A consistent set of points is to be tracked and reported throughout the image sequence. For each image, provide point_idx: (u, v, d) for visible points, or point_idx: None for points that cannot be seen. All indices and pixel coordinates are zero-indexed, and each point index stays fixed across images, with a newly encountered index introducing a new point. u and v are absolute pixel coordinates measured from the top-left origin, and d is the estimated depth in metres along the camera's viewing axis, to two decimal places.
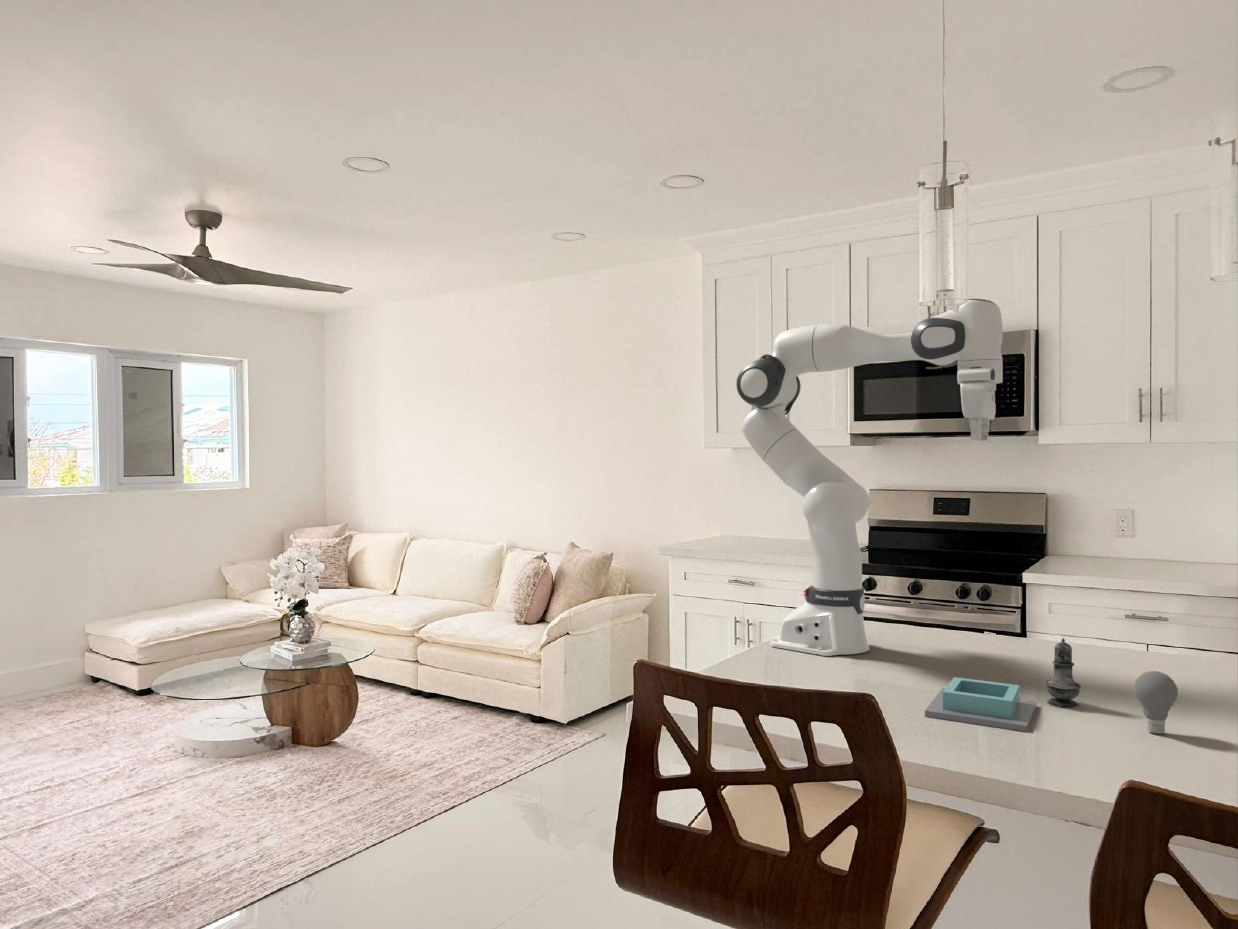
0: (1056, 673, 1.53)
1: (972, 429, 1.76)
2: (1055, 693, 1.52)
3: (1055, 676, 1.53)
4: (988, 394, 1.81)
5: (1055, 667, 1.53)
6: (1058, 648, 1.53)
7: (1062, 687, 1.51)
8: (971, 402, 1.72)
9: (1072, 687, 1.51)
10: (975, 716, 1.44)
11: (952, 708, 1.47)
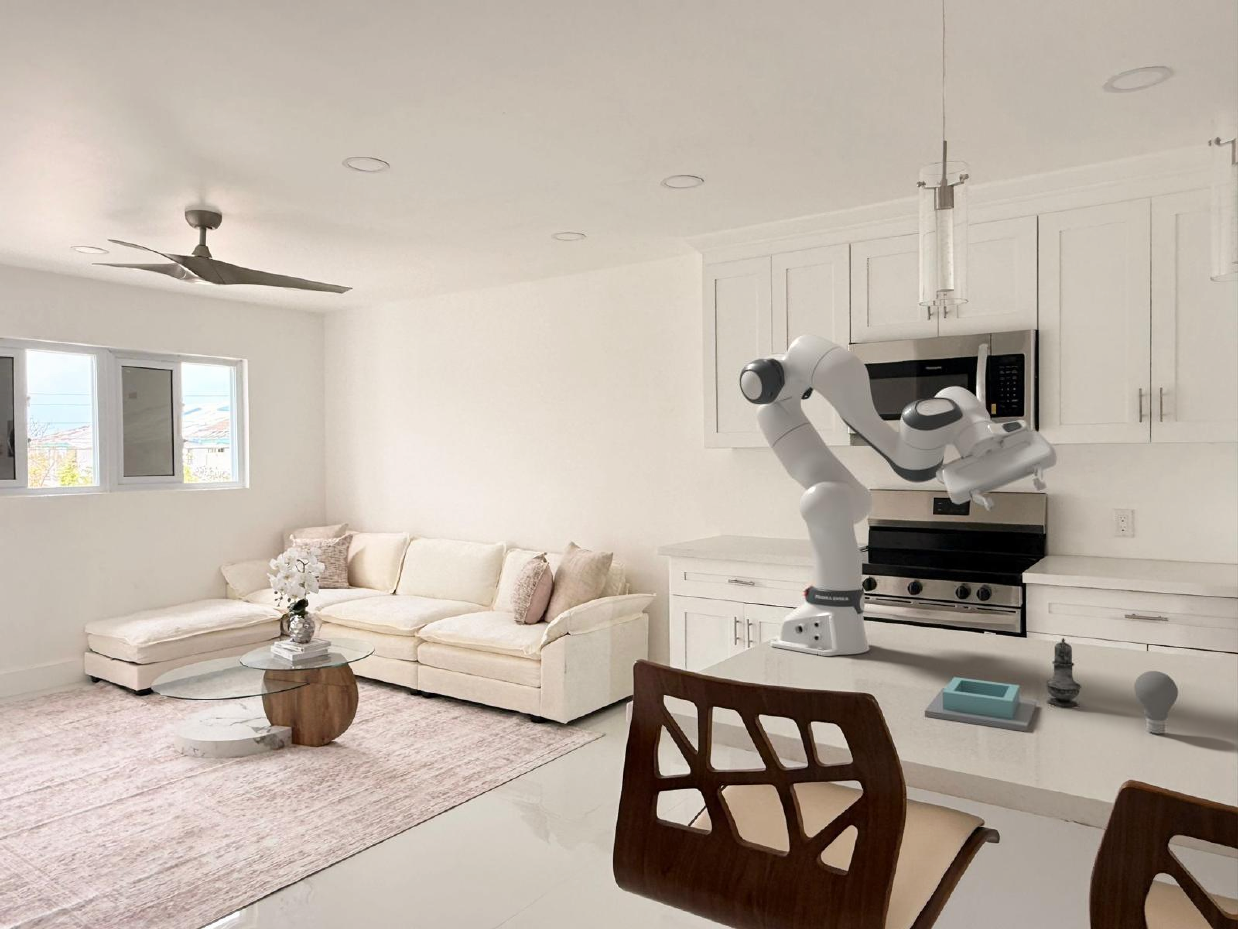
0: (1056, 673, 1.53)
1: (1041, 474, 1.56)
2: (1055, 693, 1.52)
3: (1056, 676, 1.53)
4: None
5: (1055, 667, 1.53)
6: (1058, 648, 1.53)
7: (1062, 687, 1.51)
8: None
9: (1072, 687, 1.51)
10: (975, 716, 1.44)
11: (952, 708, 1.47)
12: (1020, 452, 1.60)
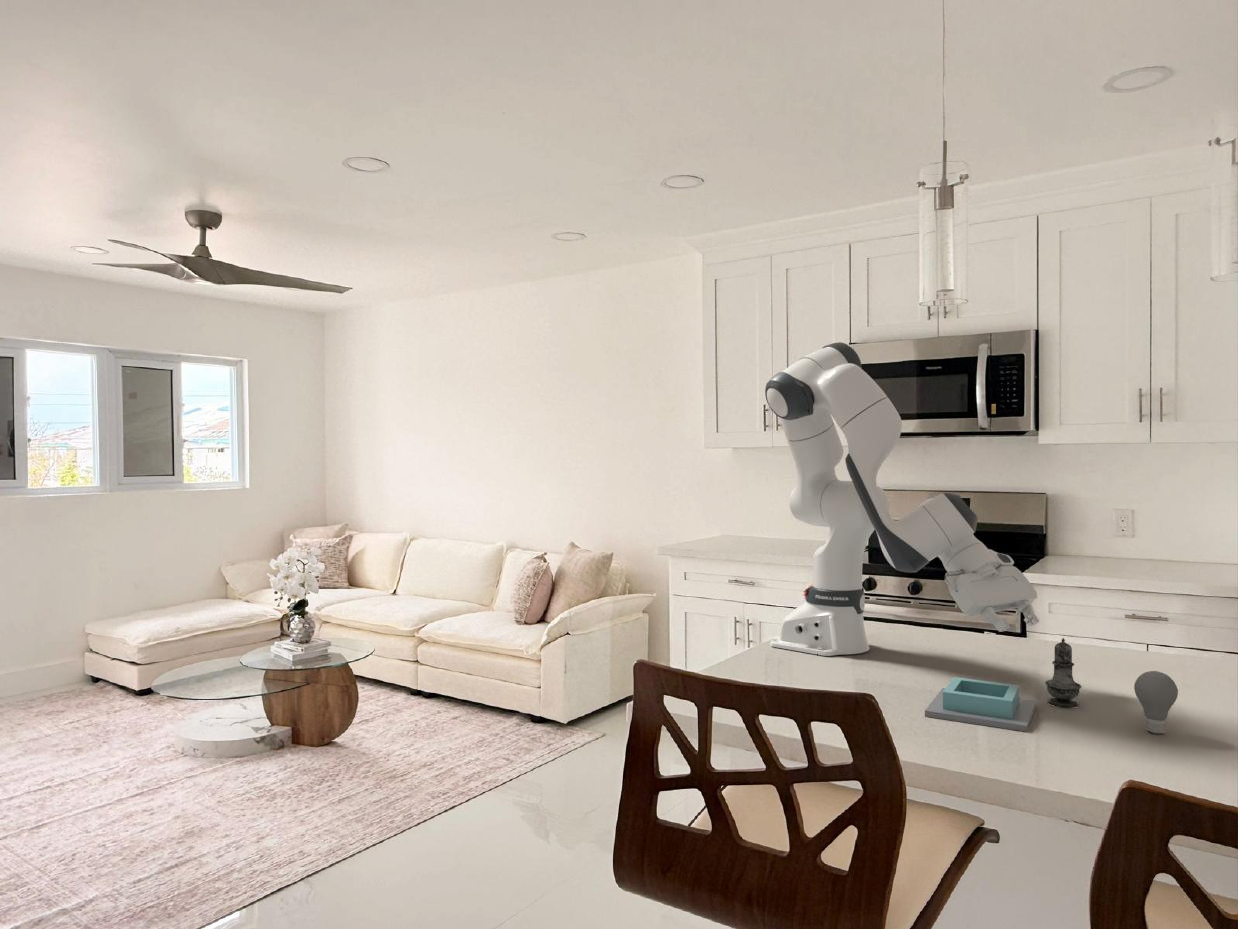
0: (1056, 673, 1.53)
1: None
2: (1055, 693, 1.52)
3: (1056, 676, 1.53)
4: None
5: (1055, 667, 1.53)
6: (1058, 648, 1.53)
7: (1062, 687, 1.51)
8: None
9: (1072, 687, 1.51)
10: (975, 716, 1.44)
11: (952, 708, 1.47)
12: (1014, 585, 1.65)
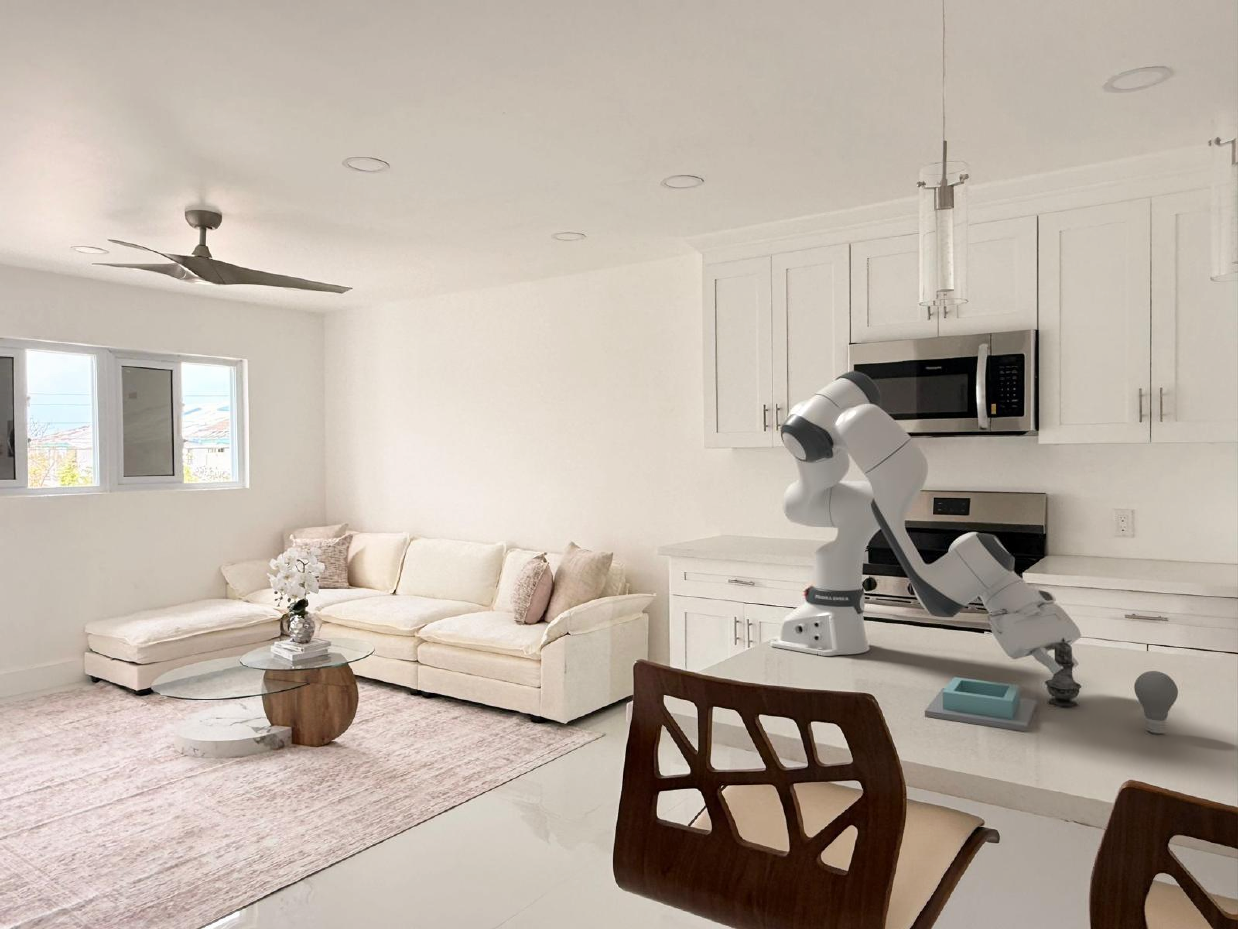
0: (1056, 673, 1.53)
1: None
2: (1055, 693, 1.52)
3: (1056, 676, 1.53)
4: None
5: None
6: (1058, 648, 1.53)
7: (1062, 687, 1.51)
8: None
9: (1072, 687, 1.51)
10: (975, 716, 1.44)
11: (952, 708, 1.47)
12: (1057, 624, 1.59)
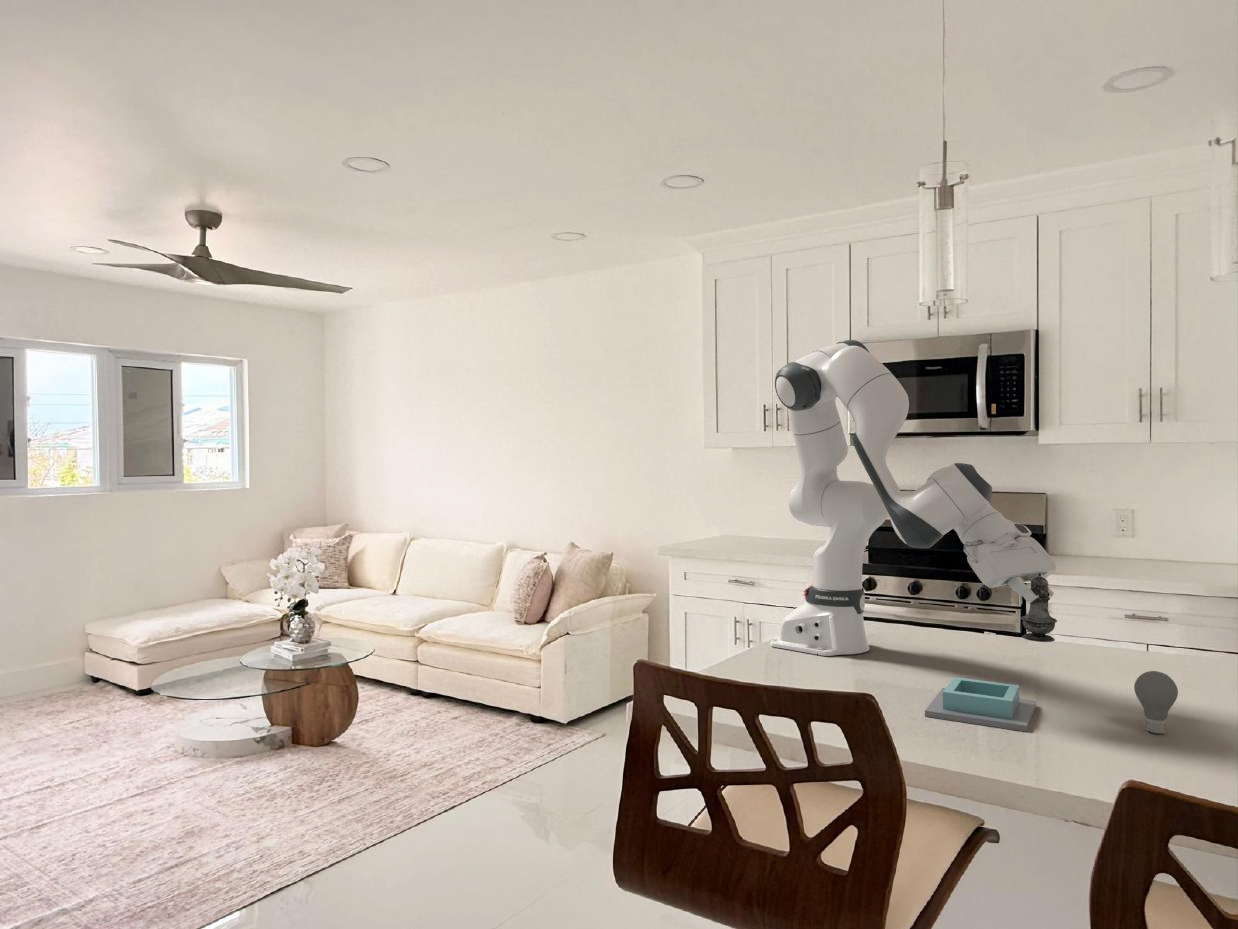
0: (1032, 607, 1.52)
1: None
2: (1031, 627, 1.51)
3: (1032, 610, 1.52)
4: None
5: None
6: (1035, 582, 1.52)
7: (1038, 621, 1.50)
8: None
9: (1048, 621, 1.50)
10: (975, 716, 1.44)
11: (952, 708, 1.47)
12: (1033, 556, 1.58)
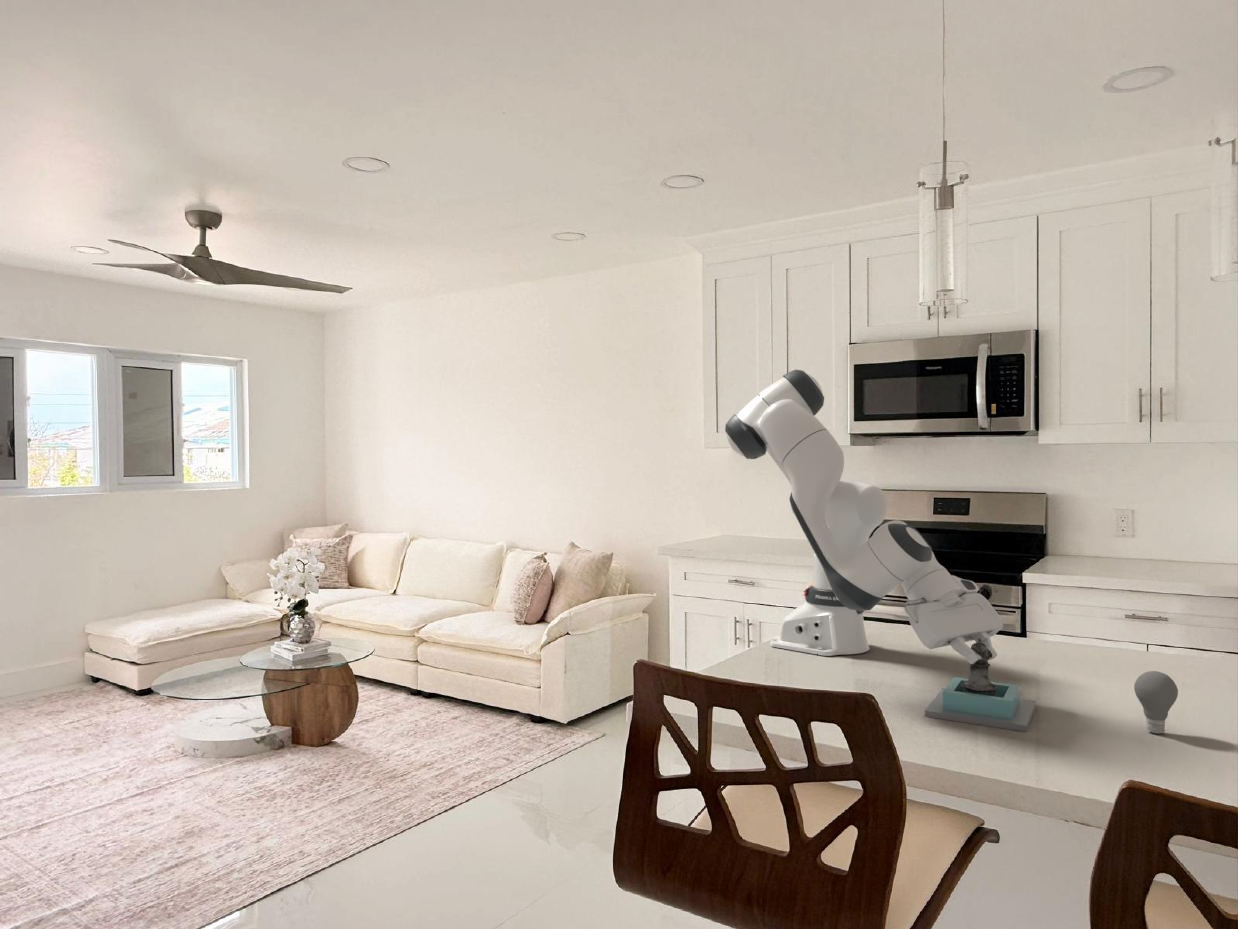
0: (972, 674, 1.49)
1: None
2: None
3: (972, 677, 1.49)
4: None
5: (971, 668, 1.49)
6: (974, 648, 1.49)
7: (978, 688, 1.47)
8: None
9: (988, 688, 1.47)
10: (975, 716, 1.44)
11: (952, 708, 1.47)
12: (978, 614, 1.55)
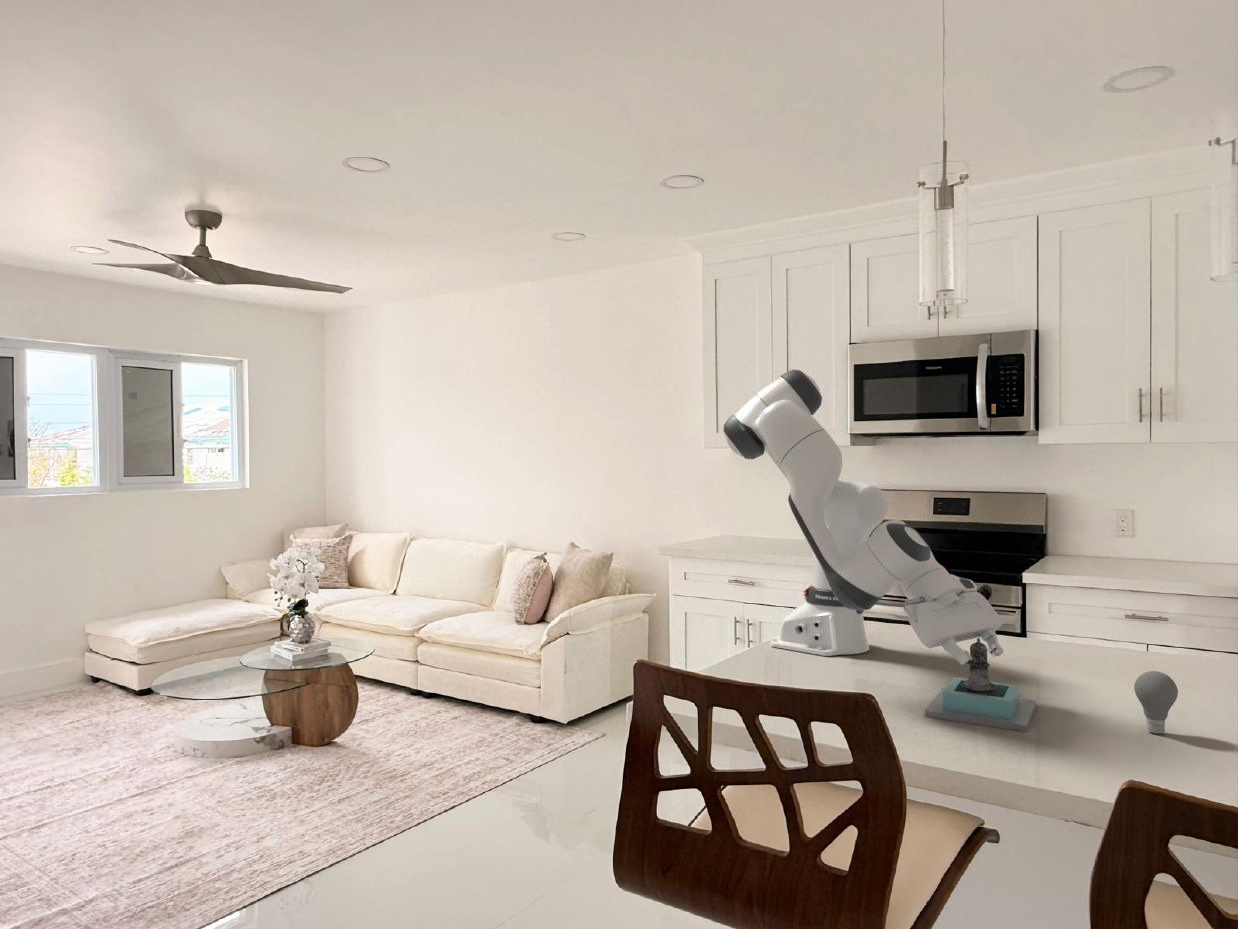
0: (972, 674, 1.49)
1: None
2: None
3: (971, 677, 1.49)
4: None
5: (971, 668, 1.49)
6: (974, 648, 1.49)
7: (978, 688, 1.47)
8: None
9: (988, 688, 1.47)
10: (975, 716, 1.44)
11: (952, 708, 1.47)
12: (977, 612, 1.56)
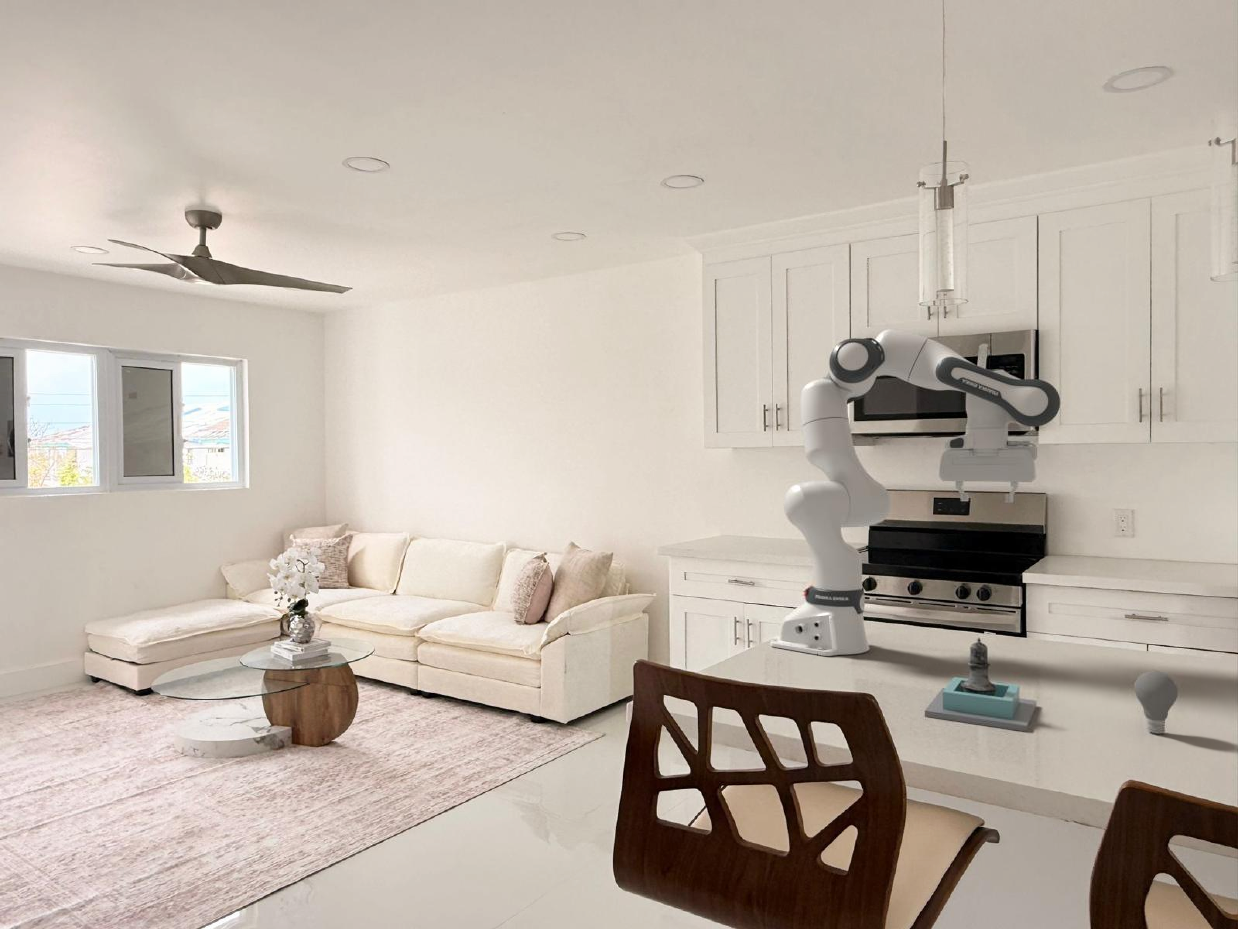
0: (972, 674, 1.49)
1: None
2: None
3: (972, 677, 1.49)
4: (992, 458, 1.92)
5: (971, 668, 1.49)
6: (974, 648, 1.49)
7: (979, 689, 1.47)
8: None
9: (989, 688, 1.47)
10: (975, 716, 1.44)
11: (952, 708, 1.47)
12: None
